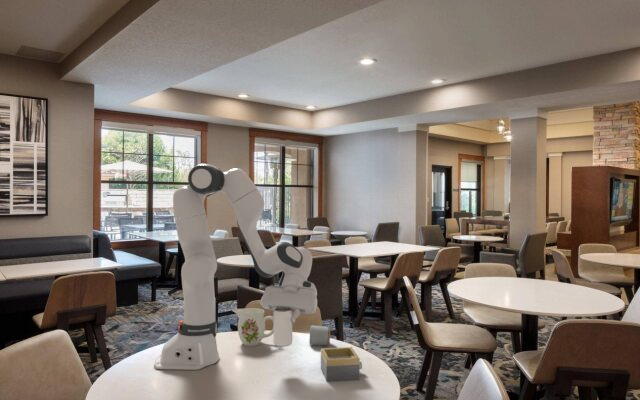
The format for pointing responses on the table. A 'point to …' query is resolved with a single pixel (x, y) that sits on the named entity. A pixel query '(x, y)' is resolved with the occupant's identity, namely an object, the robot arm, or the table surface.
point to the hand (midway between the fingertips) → (283, 320)
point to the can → (282, 327)
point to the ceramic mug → (319, 335)
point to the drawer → (340, 364)
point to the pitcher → (252, 325)
